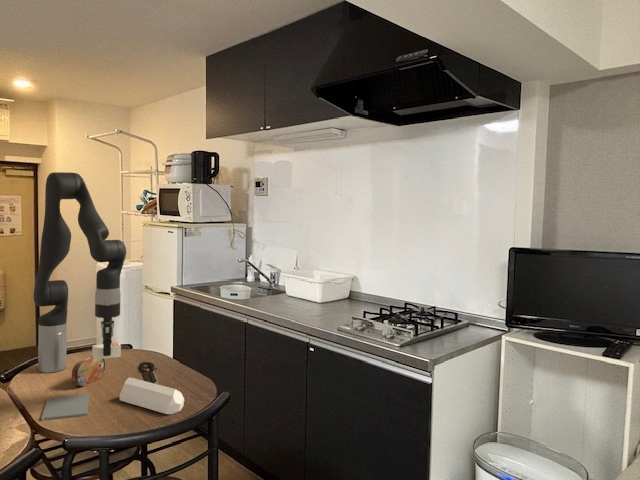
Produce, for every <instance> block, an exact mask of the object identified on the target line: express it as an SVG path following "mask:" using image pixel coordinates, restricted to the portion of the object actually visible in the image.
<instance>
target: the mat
mask: <svg viewBox="0 0 640 480" xmlns="http://www.w3.org/2000/svg"><path fill="white" fill-rule="evenodd" d="M90 397H91V394H90V393H86V394H77V395H76V394H75V395H74V394H73V395H66V396H65V395H64V396H55V397H48V398H47V400H46V403H45V405H44V408H43V411H42V414H41V417H40V420H41V419H50V420H59V419H65V418H66V419H67V418H74V417H75V418H76V417H83V416H84V417H85V416H88V412H89V405H90Z"/></svg>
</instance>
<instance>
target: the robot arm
mask: <svg viewBox="0 0 640 480" xmlns="http://www.w3.org/2000/svg"><path fill="white" fill-rule="evenodd" d="M44 191H45V192H44V197H45V198H44V200H45V201H44V216H43V217H44V218H43V226H42V227H43V228H42V233H41V241H40V248H39V249H40V251H39V259H38V260H39V262H38V269H37V273H36V278H35V283H34V287H33V302H34V304H35V305H36V306H37V307H52V306H54V308H52V309H51V310H49V311H48V312H47V313H44V314H42V315H40V316H39V317H38V322H37V323H38V352H37V353H38V359H37V361H38V362H37V367H38V372H40V373H47V374H49V373H56V372H57V373H58V372H61V371H64V370H65V369H67V331H68V330H67V327H68V326H67V323H68V321H67V319H68V304H69V286H68V283H67V281H66V280H63V279H58V280H57V279H56V280H55V279H54V280H50V278H51V276H52V274H53V273H54V271H55V269H56V268H57V267H58V266H59V265H60V264H61V263H62V262H63V261H64V259H65V258H66V257H67V256H68V254H69V252H70V248H71V243H72V242H71V241H72V232H71V230H70V227H69V226H68V224H67V223H66V221H65V219H64V218H63V215H62V213H61V201H62V200H75V201H76V202H78V203H79V210H78V214H77V222H78V226H79V228H80V230H81V231H82V233H83V235H84V236H85V238H86V240H87V244H88V249H89V253H90V256H91V258H92V259H93V260H94V261H96V262H98V263H108V264H107V266H106V267H104V268H102V269H100V270H98V271H97V272H96V276H95V278H96V285H95V288H96V289H95V296H94V299H95V300H94V301H95V303H94V316H95V317H96V318H98V319H103V320H101V321H100V328H101V337H102V344H103V355H104V356H110V355H111V343H113V341H112V338H113V337H114V328H115V320H113V318H117V317H119V316H121V296H122V295H121V274H122V271H123V270H122V269H123V267H124V264H125V260H126V258H127V257H126V255H127V248H126V245H125V243H124V241H122V240H120V239H107V238H108V237H109V235H110V232H109V229H108V227H107V225H106V223H105V222H104V220H103V219H102V218H101V215H100V214H99V212H98V210H97V209H96V207H95V205H94V202H93V201H94V200H93V199H92V196H91V193H90V192H89V191H90V190H89V189H88V187H87V184H86V182H85V180H84V178H83V176H81V175H80V174H79V173H77V172H64V171H63V172H60V171H59V172H51V173H50V172H49V174H48V175H47V177H46V181H45V190H44Z"/></svg>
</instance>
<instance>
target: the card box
mask: <svg viewBox="0 0 640 480" xmlns="http://www.w3.org/2000/svg"><path fill="white" fill-rule="evenodd" d="M91 356H93V358H94V360H95V359H104V360H105V359H111V358H120V357H122V345H121V344H120V342H112V343H111V355H110V356H104V355H103V343H99V344H93V345H92V353H91Z"/></svg>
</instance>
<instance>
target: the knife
mask: <svg viewBox="0 0 640 480" xmlns="http://www.w3.org/2000/svg"><path fill="white" fill-rule="evenodd" d="M145 364H146V365H145ZM148 368H150V369H148ZM147 369H148V370H147ZM157 369H158V368H157V367H155V364H154V363H153V362H151V361H143V362H139V369H138V372H140V373H141V374H142V375H143V377H144V381H146V382H150V383H154V384H158V383H159V381H158V379H157V376H156V374H155V371H154V370H157Z"/></svg>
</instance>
